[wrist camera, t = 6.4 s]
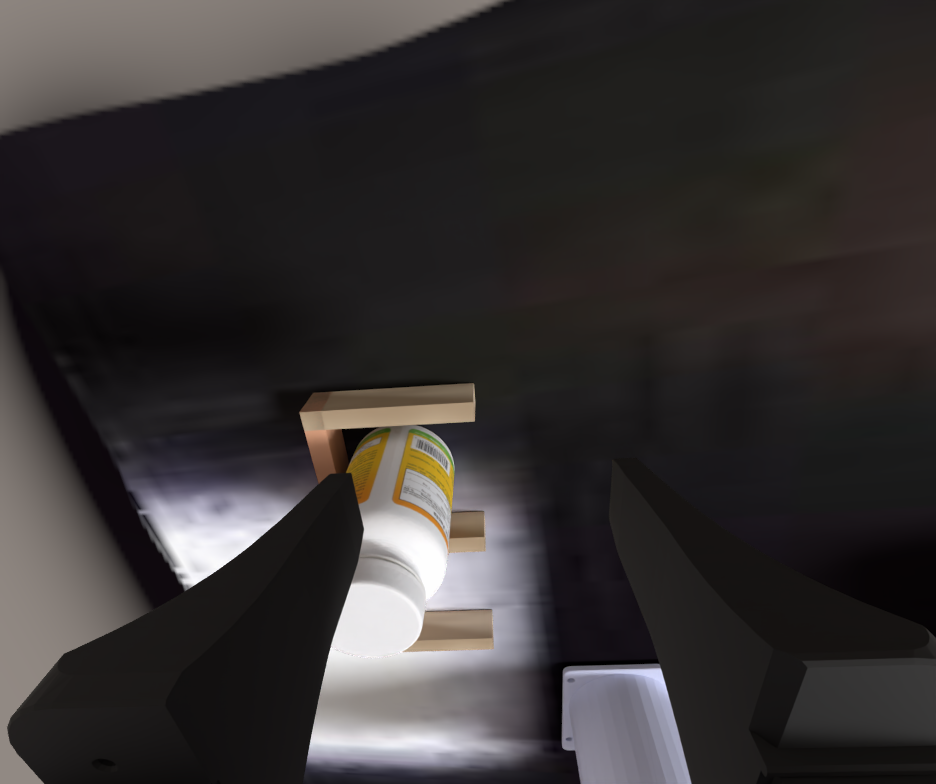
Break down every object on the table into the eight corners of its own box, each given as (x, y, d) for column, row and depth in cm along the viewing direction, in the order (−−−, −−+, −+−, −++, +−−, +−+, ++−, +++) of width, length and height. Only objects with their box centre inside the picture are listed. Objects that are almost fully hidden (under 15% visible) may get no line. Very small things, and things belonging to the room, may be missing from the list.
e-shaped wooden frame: (492, 620, 31) (493, 649, 29) (370, 624, 31) (364, 653, 29) (473, 382, 23) (473, 402, 21) (313, 392, 24) (299, 412, 22)
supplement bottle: (358, 501, 27) (298, 669, 18) (350, 417, 24) (278, 564, 15) (454, 505, 27) (441, 675, 18) (456, 422, 24) (443, 571, 15)
